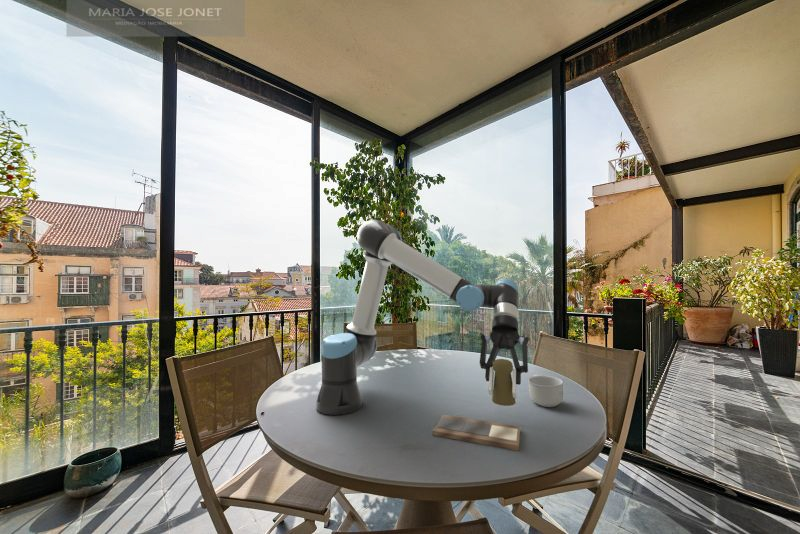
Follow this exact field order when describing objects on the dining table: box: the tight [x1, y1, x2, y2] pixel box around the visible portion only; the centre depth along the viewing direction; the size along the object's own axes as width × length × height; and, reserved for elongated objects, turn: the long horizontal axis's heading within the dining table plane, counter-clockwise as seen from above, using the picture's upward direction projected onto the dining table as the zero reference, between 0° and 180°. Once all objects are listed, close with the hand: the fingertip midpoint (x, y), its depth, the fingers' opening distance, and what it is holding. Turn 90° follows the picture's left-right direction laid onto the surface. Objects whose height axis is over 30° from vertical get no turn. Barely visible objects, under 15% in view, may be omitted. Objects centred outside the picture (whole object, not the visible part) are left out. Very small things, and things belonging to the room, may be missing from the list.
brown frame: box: [432, 414, 521, 451], centre depth 88 cm, size 22×11×1 cm, turn 68°
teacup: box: [527, 374, 564, 408], centre depth 109 cm, size 14×11×8 cm
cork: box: [491, 358, 516, 407], centre depth 86 cm, size 6×6×11 cm
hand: (502, 393), depth 82 cm, fingers closed on cork, 5 cm apart
